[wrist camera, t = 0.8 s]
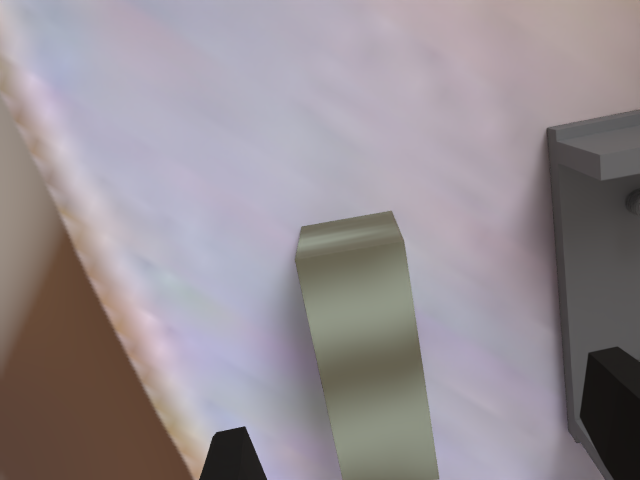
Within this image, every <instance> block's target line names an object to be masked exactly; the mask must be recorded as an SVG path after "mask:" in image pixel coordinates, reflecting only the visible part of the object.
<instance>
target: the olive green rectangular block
mask: <svg viewBox="0 0 640 480" xmlns="http://www.w3.org/2000/svg"><path fill="white" fill-rule="evenodd" d="M295 262H296V267H297V272H298V276H299V281H300V285H301V290H302V295H303V299H304V304H305V308H306V313H307V318H308V322H309V327H310V331H311V336H312V341H313V345H314V350H315V354H316V359H317V364H318V368H319V373H320V378H321V382H322V387H323V391H324V396H325V401H326V405H327V410H328V414H329V419H330V424H331V428H332V433H333V437H334V442H335V447H336V451H337V456H338V460H339V465H340V470H341V474H342V479H343V480H437V479H439V473H438V466H437V460H436V453H435V446H434V439H433V433H432V426H431V419H430V412H429V406H428V399H427V392H426V385H425V379H424V372H423V365H422V358H421V352H420V345H419V338H418V331H417V325H416V318H415V311H414V304H413V298H412V291H411V284H410V277H409V271H408V264H407V257H406V250H405V244H404V240H403V237H402V235H401V232H400V230H399V227H398V225H397V223H396V220H395V218H394V215H393V213H392V211H387V212H382V213H376V214H370V215H365V216H359V217H353V218H347V219H342V220H336V221H330V222H325V223H319V224H313V225H308V226H302V228H301V233H300V238H299V242H298V247H297V252H296V257H295Z"/></svg>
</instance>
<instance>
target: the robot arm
mask: <svg viewBox="0 0 640 480" xmlns="http://www.w3.org/2000/svg"><path fill="white" fill-rule="evenodd" d="M580 419H581V421H582V423H583V425H584V427H585V429H586V431H587V433H588V435H589V437H590V439H591V441H592V443H593V445H594V447H595V449H596V450H597V452H598V454H599V456H600V458H601V460H602V462H603V464H604V465H605V467H606V469H607V470H608V472H609V473H610V475H611V476H612V478H613V479H614V480H640V362H639V361H638V360H637V359H635V358H634V357H632V356H631V355H629V354H628V353H627V352H625V351H624V350H622V349H621V348H619V347H618V346H617V347H612V348H607V349H603V350H598V351H593V352H589V353H588V359H587V366H586V373H585V381H584V388H583V395H582V402H581V409H580ZM199 480H267V478H266V476H265V473H264V471H263V468H262V466H261V463H260V461H259V459H258V456H257V454H256V451H255V449H254V446H253V444H252V442H251V439H250V437H249V434H248V432H247V429H246V427H245V426H244V427H239V428H235V429H230V430H225V431H221V432H216V434H215V435H214V436H213V438H212V441H211V444H210V448H209V451H208V454H207V458H206V461H205V464H204V467H203V470H202V473H201V476H200V479H199Z"/></svg>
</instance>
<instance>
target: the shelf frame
mask: <svg viewBox="0 0 640 480" xmlns="http://www.w3.org/2000/svg"><path fill="white" fill-rule="evenodd" d="M547 132H548V147H549V161H550V175H551V189H552V203H553V218H554V232H555V246H556V260H557V275H558V289H559V303H560V317H561V331H562V346H563V360H564V374H565V388H566V402H567V417H568V431H569V433H570V434H571V436H572V437H573V439H574V440H575V442H576V443H581V444H582V445H583V447H584V448H585V450H586V451H587V453H588V454H589V456H590V457H591V459H592V460H593V462H594V463H595V465H596V466H597V468H598V469H599V471H600V472H601V474H602V475H603V477H604V478H605V480H614V479H613V478H612V476H611V475H610V473H609V472H608V470H607V469H606V467H605V465H604V464H603V462H602V460H601V458H600V456H599V454H598V452H597V450H596V449H595V447H594V445H593V443H592V441H591V439H590V437H589V435H588V433H587V431H586V429H585V427H584V425H583V423H582V421H581V419H580V409H581V402H582V395H583V388H584V381H585V373H586V366H587V359H588V353H589V352H593V351H598V350H603V349H607V348H612V347H617V346H618V347H619V348H621V349H622V350H624V351H625V352H627V353H628V354H629V355H631V356H632V357H634V358H635V359H637V360H638V361H639V362H640V110H636V111H630V112H625V113H620V114H615V115H610V116H605V117H600V118H595V119H590V120H585V121H580V122H575V123H570V124H564V125H559V126H554V127H549V128H547Z"/></svg>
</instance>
